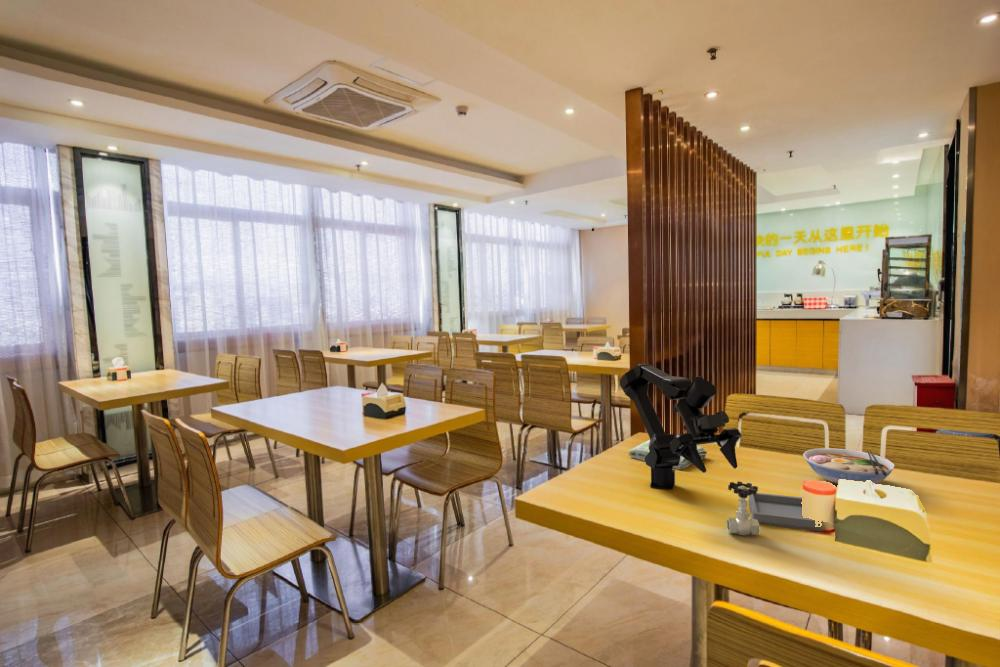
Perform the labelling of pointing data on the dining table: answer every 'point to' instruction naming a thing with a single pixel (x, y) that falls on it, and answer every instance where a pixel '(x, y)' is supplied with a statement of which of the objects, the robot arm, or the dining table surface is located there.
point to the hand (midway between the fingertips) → (720, 469)
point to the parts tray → (780, 511)
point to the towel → (643, 450)
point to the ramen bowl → (848, 465)
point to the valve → (743, 511)
